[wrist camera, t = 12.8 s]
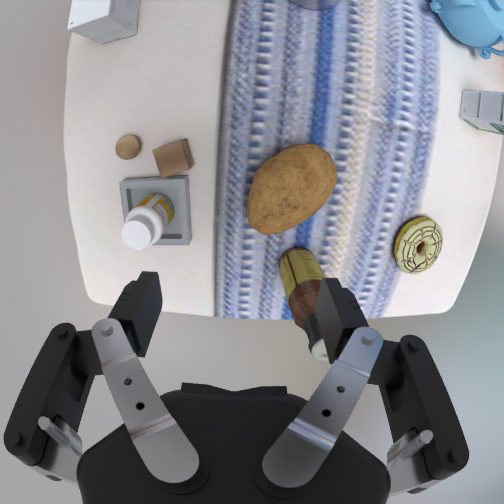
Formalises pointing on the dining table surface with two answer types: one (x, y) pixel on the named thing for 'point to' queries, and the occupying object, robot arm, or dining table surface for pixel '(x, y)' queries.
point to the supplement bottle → (147, 221)
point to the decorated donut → (410, 238)
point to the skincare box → (104, 19)
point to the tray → (174, 190)
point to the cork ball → (127, 147)
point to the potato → (290, 188)
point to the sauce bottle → (304, 294)
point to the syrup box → (483, 110)
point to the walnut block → (173, 158)
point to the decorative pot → (473, 22)
